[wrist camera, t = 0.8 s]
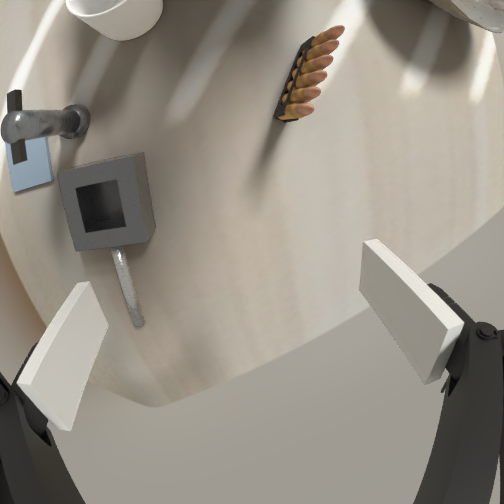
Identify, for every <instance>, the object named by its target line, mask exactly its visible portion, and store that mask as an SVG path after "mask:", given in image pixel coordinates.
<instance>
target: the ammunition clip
mask: <svg viewBox="0 0 504 504" xmlns="http://www.w3.org/2000/svg"><path fill="white" fill-rule="evenodd" d="M344 29H345V28H344V26H342V25H339V26H335V27H332V28H330V29H329V30H327V31H325V32H322V33H320V34H319V35H318V36H316V37H314V36H312V37H311V38H310V39H308V40H307V41H306V42H305V43H303V44H302V45H301V46H300V49H299V51H298V54H297V56H296V59H295V61H294V64H293V66H292V69H291V71H290V74H289V77H288V79H287V82H286V84H285V87H284V89H283V92H282V94H281V97H280V100H279V102H278V105H277V107H276V110H275V113H274V115H273V117H274V118H276V119H278V120H281V121H284V122H291V121H296V120H298V119H299V118H302V117H304V116H306V115H309V114H311V113H312V112H313V111H314V106H313V105H311V104H309V103H307V102H309V101H310V100H312V99H314V98H316V97H318V96H319V95H320V93H321V89H320V88H318V87H315V86H316V85H317V84H318V83H320V82H322V81H323V80H324V79H325V78H326V77H327V72H326V71H322V70H323V69H324V68H326V67H327V66H329V65H330V64H331V63H332V61H333V56H331V55H329V54H330V53H331V52H333V51H334V50H335V49H336V48H337V47H338V45H339V41H338V40H336V39H337V38H338V37H339V36H340V35H341V34H342V33H343V32H344Z"/></svg>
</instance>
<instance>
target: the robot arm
mask: <svg viewBox="0 0 504 504" xmlns="http://www.w3.org/2000/svg"><path fill="white" fill-rule="evenodd" d="M359 290H360V292H361V293H362V295H363V296H364V297H365V299H366V300H367V301H368V303H369V304H370V306H371V307H372V308H373V310H374V311H375V312H376V314H377V315H378V317H379V318H380V319H381V321H382V322H383V324H384V325H385V326H386V328H387V329H388V331H389V332H390V334H391V335H392V337H393V338H394V340H395V341H396V342H397V344H398V345H399V347H400V348H401V350H402V351H403V353H404V354H405V356H406V357H407V359H408V360H409V362H410V363H411V365H412V366H413V368H414V370H415V371H416V373H417V374H418V376H419V377H420V379H421V380H422V382H423V383H424V385H426V384H429V383H431V382H433V381H436V380H438V379H440V378H441V376H442V373H443V372H444V369H445V368H446V369H447V370H448V372H449V373H450V374H449V376H448V378H447V380H446V382H445V384H444V386H443V388H442V390H441V393H443V392H444V390H445V388H446V390H445V396H444V401H443V406H442V411H441V416H440V421H439V425H438V429H437V433H436V437H435V441H434V445H433V448H432V452H431V455H430V458H429V462H428V465H427V468H426V471H425V474H424V477H423V480H422V483H421V485H420V488H419V491H418V493H417V496H416V499H415V501H414V503H413V504H489V502H490V498H491V493H492V489H493V485H494V480H495V475H496V470H497V464H498V457H500V504H504V330H499V331H498V330H497V329H496V328H495V327H494V326H492V325H491V324H489V323H486V322H477V323H475V322H474V321H473V320H472V319H471V318H470V317H469V316H468V315H467V313H466V312H465V311H464V310H463V309H461V307H460V306H459V305H457V303H455V302H454V301H453V300H452V299H451V298H450V297H449V296H448V295H447V294H446V293H445V292H444V291H443V290H442V289H441V288H439V287H437V286H435V285H433V284H431V283H430V284H426V283H425V282H424V281H423V280H422V279H420V278H419V277H418V276H417V275H416V274H415V273H414V272H413V271H412V270H411V269H410V268H409V267H408V266H407V265H405V264H404V263H403V262H402V261H401V260H400V259H399V258H398V257H397V256H396V255H394V254H393V253H392V252H391V251H390V250H389V249H388V248H387V247H385V246H384V245H383V244H382V243H381V242H380V241H379V240H377V239H374V240H367V241H363V250H362V264H361V276H360V287H359ZM108 327H109V325H108V323H107V321H106V318H105V316H104V314H103V312H102V309H101V307H100V305H99V303H98V300H97V298H96V295H95V293H94V291H93V288H92V286H91V283H90V281H87V282H80V283H77V284H76V286H75V287H74V288H73V290H72V291H71V293H70V294H69V296H68V297H67V299H66V300H65V302H64V303H63V305H62V306H61V308H60V309H59V311H58V312H57V314H56V315H55V317H54V318H53V320H52V321H51V323H50V325H49V326H48V328H47V329H46V331H45V333H44V334H43V336H42V338H41V339H40V340H39V341H38V342H37V343H36V344H35V345H34V346H33V347H32V349H31V350H30V352H29V354H28V357H26V359H25V361H24V364H22V366H21V368H20V370H19V372H18V373H17V375H16V377H15V379H14V381H13V383H12V385H11V386H10V384H9V383H8V382H7V380H6V379H5V378H4V376H3V375H2V374H1V372H0V504H85V502H84V500H83V498H82V497H81V495H80V493H79V491H78V489H77V488H76V486H75V484H74V482H73V480H72V479H71V476H70V474H69V472H68V470H67V468H66V466H65V464H64V462H63V459H62V457H61V455H60V453H59V450H58V448H57V446H56V443H55V441H54V438H53V436H52V433H51V431H50V430H49V428H48V427H47V423H48V420H49V421H50V422H51V423H52V424H53V425H54V427H56V429H61V430H67V431H71V429H72V426H73V422H74V419H75V416H76V413H77V410H78V407H79V404H80V401H81V398H82V395H83V392H84V389H85V386H86V383H87V380H88V378H89V375H90V372H91V369H92V367H93V364H94V362H95V359H96V356H97V354H98V351H99V349H100V346H101V344H102V341H103V339H104V336H105V334H106V332H107V329H108Z"/></svg>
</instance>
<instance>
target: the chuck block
mask: <svg viewBox="0 0 504 504" xmlns="http://www.w3.org/2000/svg"><path fill="white" fill-rule="evenodd" d="M57 175H58V180H59V185H60V190H61V195H62V200H63V204H64V209H65V213H66V217H67V221H68V225H69V229H70V233H71V236H72V240H73V243H74V247H75V250H76V252H77V251H84V250H92V249H99V248H106V247H110V250H111V253H112V257H113V261H114V264H115V268H116V271H117V274H118V278H119V281H120V284H121V288H122V291H123V294H124V297H125V300H126V303H127V306H128V309H129V312H130V315H131V317H132V320H133V323H134V325H135V326H137V327H139V326H142V325H144V324H145V319H144V315H143V312H142V309H141V306H140V303H139V300H138V297H137V293H136V290H135V287H134V283H133V280H132V276H131V273H130V269H129V265H128V262H127V258H126V254H125V250H124V246H123V245H129V244H137V243H145V242H148V241H149V239H150V237H151V235H152V234H153V232H154V230H155V228H156V225H155V220H154V214H153V209H152V203H151V197H150V191H149V185H148V178H147V171H146V164H145V157H144V152H140V153H135V154H130V155H124V156H120V157H115V158H110V159H106V160H101V161H97V162H93V163H88V164H84V165H80V166H76V167H73V168H71V169H68V170H66V171H63V172H60V173H58V174H57Z"/></svg>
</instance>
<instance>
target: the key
mask: <svg viewBox="0 0 504 504" xmlns="http://www.w3.org/2000/svg"><path fill="white" fill-rule="evenodd" d="M7 110H8V114H7V115H6V116H5V117H4V119H3V121H2V124H1V136H2V139H3V140H4V141H5V142H6V143H8V144H10V145H11V153H12V160H13V165H16V164H19V163H21V162H24V161H27V160H28V159H27V152H26V145H25V141H26V140H31V139H37V138H43V137H49V136H55V135H61V136H62V137H64V138H66V139H72V138H78V137H80V136H82V135H83V134H84V133H85V132H86V131H87V129H88V127H89V124H90V115H89V112H88V110H87V109H86V108H85V107H83V106H80V105H70V106H67V107H66V108H64V109H63V110H23V111H22V91H21V90H13V91H11V92H10V93H8V94H7Z"/></svg>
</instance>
